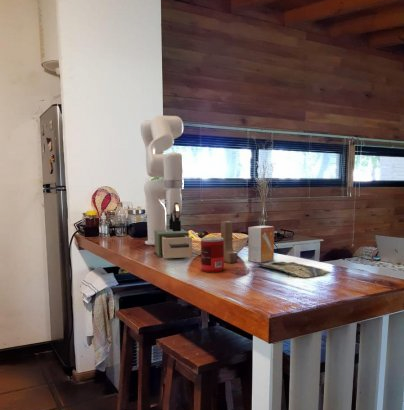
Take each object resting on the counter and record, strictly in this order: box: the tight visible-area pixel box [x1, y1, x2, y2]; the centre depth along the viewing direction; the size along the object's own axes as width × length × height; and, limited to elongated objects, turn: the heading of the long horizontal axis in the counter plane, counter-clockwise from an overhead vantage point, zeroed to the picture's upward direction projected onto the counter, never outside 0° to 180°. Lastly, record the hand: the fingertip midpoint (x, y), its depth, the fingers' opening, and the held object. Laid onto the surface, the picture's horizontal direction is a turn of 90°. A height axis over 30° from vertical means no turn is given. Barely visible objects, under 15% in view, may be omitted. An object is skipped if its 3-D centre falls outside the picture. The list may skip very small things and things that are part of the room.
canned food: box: [200, 236, 225, 273], centre depth 142 cm, size 8×8×11 cm
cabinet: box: [154, 228, 190, 258], centre depth 179 cm, size 15×13×10 cm
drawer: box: [160, 235, 193, 259], centre depth 167 cm, size 19×11×8 cm, turn 13°
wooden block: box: [220, 220, 238, 264], centre depth 158 cm, size 7×3×15 cm, turn 29°
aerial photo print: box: [256, 261, 329, 278], centre depth 142 cm, size 25×19×2 cm
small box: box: [247, 225, 275, 264], centre depth 159 cm, size 8×6×13 cm
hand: (175, 229), depth 168 cm, fingers open, 7 cm apart
